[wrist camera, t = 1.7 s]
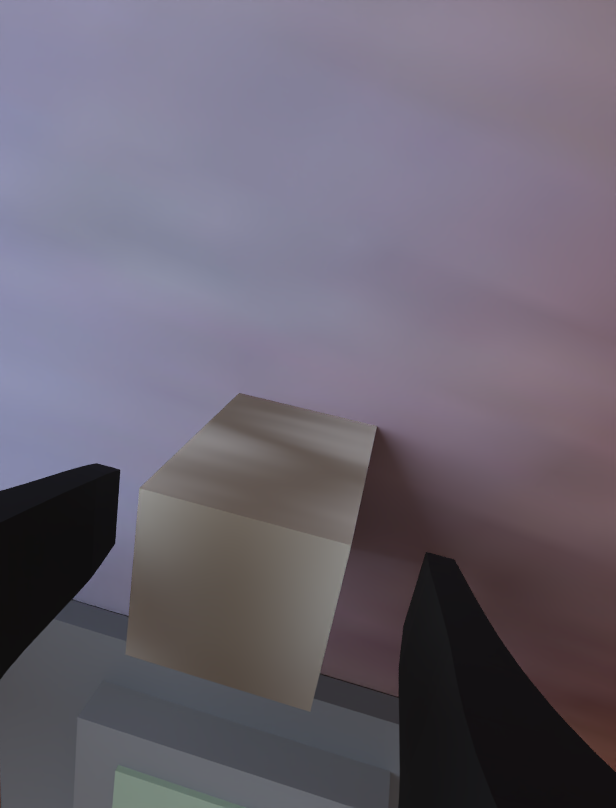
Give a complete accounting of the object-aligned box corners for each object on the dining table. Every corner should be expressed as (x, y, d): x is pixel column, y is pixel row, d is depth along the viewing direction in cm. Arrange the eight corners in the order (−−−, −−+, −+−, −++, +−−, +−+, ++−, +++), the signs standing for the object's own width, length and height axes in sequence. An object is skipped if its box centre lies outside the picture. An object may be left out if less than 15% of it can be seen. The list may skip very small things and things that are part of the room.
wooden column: (222, 512, 17) (125, 654, 12) (239, 392, 16) (139, 488, 10) (347, 546, 17) (309, 712, 11) (376, 426, 15) (351, 545, 10)
